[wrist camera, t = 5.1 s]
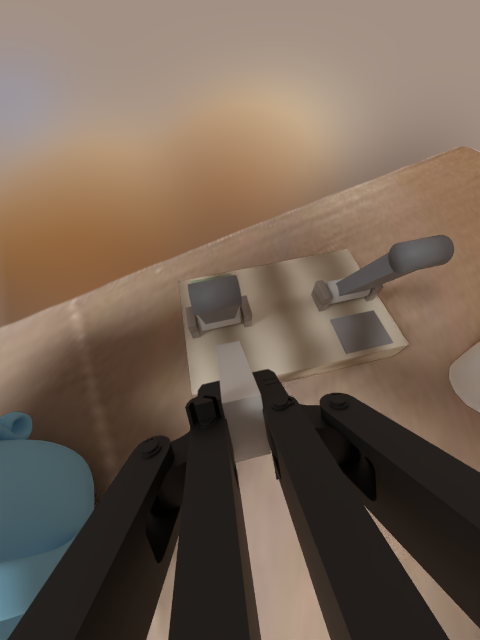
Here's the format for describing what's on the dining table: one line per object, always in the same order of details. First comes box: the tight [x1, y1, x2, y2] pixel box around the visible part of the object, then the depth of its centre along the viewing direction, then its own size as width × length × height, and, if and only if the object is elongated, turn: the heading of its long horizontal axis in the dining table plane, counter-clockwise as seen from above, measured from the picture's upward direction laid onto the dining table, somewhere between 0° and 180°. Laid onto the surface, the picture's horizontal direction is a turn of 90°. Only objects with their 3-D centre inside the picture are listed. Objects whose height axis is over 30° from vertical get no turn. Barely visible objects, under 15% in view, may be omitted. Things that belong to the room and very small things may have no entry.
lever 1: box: [188, 275, 242, 331], centre depth 20 cm, size 4×2×12 cm, turn 103°
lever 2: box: [325, 235, 454, 304], centre depth 21 cm, size 4×2×12 cm, turn 103°
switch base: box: [178, 249, 409, 398], centre depth 27 cm, size 22×14×5 cm, turn 103°
